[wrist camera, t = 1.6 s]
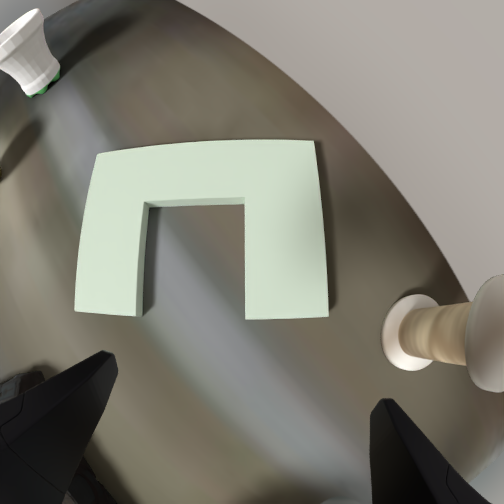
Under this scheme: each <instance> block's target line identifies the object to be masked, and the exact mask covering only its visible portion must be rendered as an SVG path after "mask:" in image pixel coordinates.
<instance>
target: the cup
mask: <svg viewBox="0 0 504 504" xmlns="http://www.w3.org/2000/svg"><path fill="white" fill-rule="evenodd" d="M43 22H44V17H43V15H42V13H41V11H40V9H34V10H31V11H29V12H28V13H26V14H25V15H23V16H21V17H20V18H19V19H17V20H16V21H15V22H14V23H12V24H11V25H10V26H9V27H7V28H6V29H5V30H4V31H3V32H2V33H1V34H0V69H1V70H3V71H4V72H6V73H8V74H10V75H11V76H12V77H13V78H14V79H16V81H17V82H18V83H19V84H20V85H21V88H22V90H23V91H24V92H25V93H26V94H27V95H28V96H29V97H33V96H34V95H35V94H43V93H45V91H46V90H47V86H48V84H49V83H50V82H51V81H52V82H53V81H56V80H57V79H58V78H59V77H60V76H59V72H60V64H59V63H58V61H57V60H56V59H55V58H54V57H53V56H52V54H51V53H50V51H49V49H48V46H47V44H46V41H45V36H44V31H43Z"/></svg>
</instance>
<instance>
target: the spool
mask: <svg viewBox="0 0 504 504" xmlns="http://www.w3.org/2000/svg"><path fill="white" fill-rule="evenodd" d="M381 345H382V349H383V352H384V354H385V356H386V358H387V359H388V360H389V361H390V363H392V364H393V365H394V366H396V367H398V368H401V369H405V370H409V371H415V370H419V369H422V368H424V367H426V366H427V365H429V364H430V363H431V362H432V361H433V360H434V361H440V362H446V363H452V364H458V365H465V366H467V369H468V372H469V375H470V377H471V379H472V381H473V382H474V384H475V385H476V386H477V387H479V388H481V389H483V390H487V391H492V392H503V391H504V274H502V275H498V276H495V277H492V278H490V279H489V280H487V281H486V282H485V283H484V284H483V285H482V287H481V288H480V289H479V291H478V293H477V294H476V296H475V298H474V301H473V302H466V303H459V304H452V305H445V306H439V305H438V304H437V303H436V302H435V301H434V300H433V299H432V298H430V297H428V296H426V295H421V294H416V295H410V296H406V297H403V298H401V299H400V300H398V301H397V302H395V303H394V304H393V305H392V306H391V308H390V309H389V310H388V312H387V314H386V316H385V318H384V321H383V323H382V328H381Z"/></svg>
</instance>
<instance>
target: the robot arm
mask: <svg viewBox="0 0 504 504" xmlns="http://www.w3.org/2000/svg"><path fill="white" fill-rule="evenodd" d="M117 375H118V367H117V363H116V359H115V355H114V354H113V353H111V352H109V351H106V350H102V351H100V352H98V353H96V354H94V355H92V356H90V357H89V358H87V359H85V360H83V361H81V362H79V363H78V364H76V365H74V366H72V367H70V368H68V369H67V370H65V371H63V372H61V373H59V374H57V375H55V376H54V377H52V378H50V379H48V380H46V381H44V382H42V383H41V384H39V385H37V386H35V387H33V388H31V389H29V390H27V391H26V392H25V393H22V394H20V395H18V396H16V397H14V398H12V399H10V400H8V401H6V402H3V403H1V404H0V504H62V502H63V500H64V497H65V494H66V492H67V490H68V487H69V485H70V483H71V480H72V478H73V476H74V474H75V471H76V469H77V467H78V465H79V462H80V460H81V458H82V456H83V454H84V451H85V449H86V447H87V445H88V443H89V441H90V439H91V437H92V434H93V432H94V430H95V428H96V426H97V424H98V422H99V420H100V418H101V416H102V414H103V412H104V410H105V407H106V405H107V402H108V399H109V396H110V394H111V391H112V388H113V385H114V383H115V380H116V378H117ZM370 468H371V484H372V504H491V503H490V502H488V501H487V500H486V499H484V497H482V496H481V495H480V494H479V493H478V492H477V491H476V490H475V489H473V488H472V487H471V486H470V485H469V484H468V483H467V482H466V481H465V480H464V479H463V478H462V477H461V476H460V475H459V474H458V472H457V471H456V470H455V469H454V468H453V467H452V466H451V465H450V464H449V462H448V461H447V460H446V459H445V458H444V457H443V455H442V454H441V453H440V452H439V451H438V450H437V448H436V447H435V446H434V445H433V444H432V443H431V442H430V440H429V439H428V438H427V437H426V436H425V435H424V434H423V432H422V431H421V430H420V429H419V428H418V427H417V426H416V424H415V423H414V422H413V421H412V420H411V419H410V418H409V416H408V415H407V414H406V413H405V412H404V411H403V410H402V408H401V407H400V406H399V405H398V404H397V403H396V402H395V401H394V400H393V399H392V398H383V399H381V400H380V401H379V402H378V404H377V405H376V406H375V408H374V409H373V411H372V412H371V415H370Z"/></svg>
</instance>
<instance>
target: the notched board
mask: <svg viewBox="0 0 504 504" xmlns="http://www.w3.org/2000/svg"><path fill="white" fill-rule="evenodd" d="M225 204H245V319H287V318H312V317H329V314H328V286H327V267H326V252H325V238H324V226H323V215H322V205H321V195H320V186H319V177H318V169H317V161H316V154H315V147H314V141H304V140H223V141H203V142H188V143H176V144H166V145H156V146H147V147H139V148H132V149H125V150H118V151H112V152H106V153H100V154H97V158H96V161H95V165H94V169H93V174H92V178H91V182H90V187H89V191H88V196H87V201H86V207H85V212H84V218H83V224H82V231H81V238H80V246H79V254H78V264H77V275H76V290H75V311H79V312H89V313H100V314H112V315H125V316H142V311H143V279H144V261H145V247H146V235H147V225H148V215H149V208H151V207H170V206H193V205H225Z"/></svg>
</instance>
